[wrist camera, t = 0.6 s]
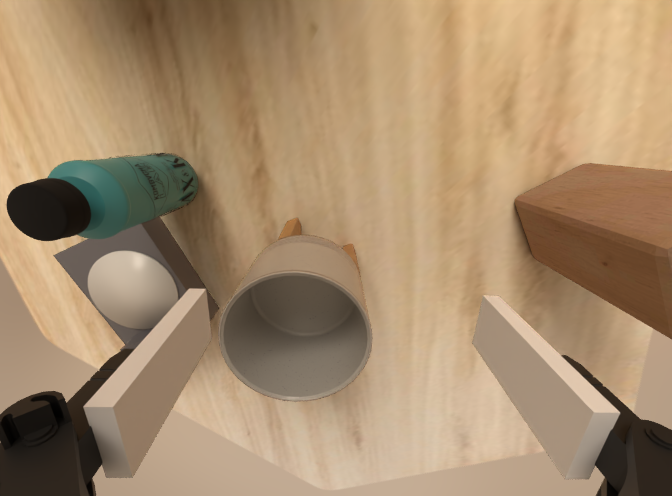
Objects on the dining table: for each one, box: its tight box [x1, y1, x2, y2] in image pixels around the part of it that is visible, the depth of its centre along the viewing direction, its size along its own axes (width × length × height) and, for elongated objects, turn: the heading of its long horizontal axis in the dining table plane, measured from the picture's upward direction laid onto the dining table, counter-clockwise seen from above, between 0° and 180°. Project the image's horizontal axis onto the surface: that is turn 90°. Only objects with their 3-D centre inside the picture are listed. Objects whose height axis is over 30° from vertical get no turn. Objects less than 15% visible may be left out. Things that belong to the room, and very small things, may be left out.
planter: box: [218, 218, 372, 401], centre depth 35 cm, size 13×13×18 cm
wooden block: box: [515, 163, 672, 339], centre depth 32 cm, size 10×10×20 cm
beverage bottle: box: [7, 153, 198, 241], centre depth 29 cm, size 6×7×20 cm
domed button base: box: [53, 216, 219, 351], centre depth 40 cm, size 16×12×7 cm
